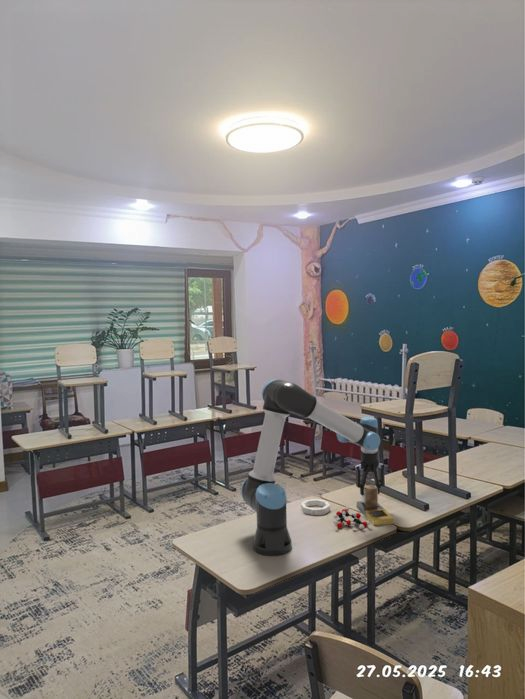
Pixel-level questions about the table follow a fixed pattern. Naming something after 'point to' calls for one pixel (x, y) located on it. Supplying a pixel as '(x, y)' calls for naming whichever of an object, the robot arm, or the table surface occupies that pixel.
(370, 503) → the walnut peg
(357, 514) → the molecular model
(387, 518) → the yellow grey tray
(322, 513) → the white ring
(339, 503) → the table surface
